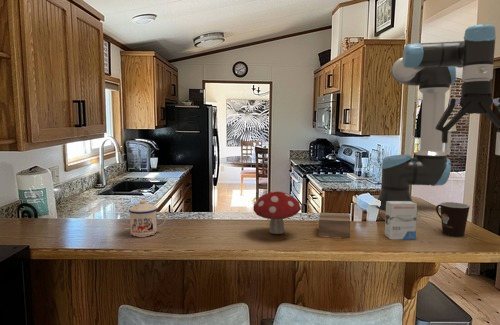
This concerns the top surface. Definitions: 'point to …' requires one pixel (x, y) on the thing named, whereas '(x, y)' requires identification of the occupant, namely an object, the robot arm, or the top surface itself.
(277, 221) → the decorative mushroom
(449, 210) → the coffee mug
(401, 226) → the ink box
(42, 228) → the top surface
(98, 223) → the top surface
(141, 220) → the teacup with lid
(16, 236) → the top surface
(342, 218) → the taupe block
